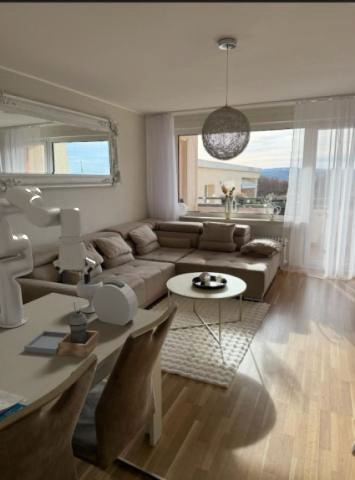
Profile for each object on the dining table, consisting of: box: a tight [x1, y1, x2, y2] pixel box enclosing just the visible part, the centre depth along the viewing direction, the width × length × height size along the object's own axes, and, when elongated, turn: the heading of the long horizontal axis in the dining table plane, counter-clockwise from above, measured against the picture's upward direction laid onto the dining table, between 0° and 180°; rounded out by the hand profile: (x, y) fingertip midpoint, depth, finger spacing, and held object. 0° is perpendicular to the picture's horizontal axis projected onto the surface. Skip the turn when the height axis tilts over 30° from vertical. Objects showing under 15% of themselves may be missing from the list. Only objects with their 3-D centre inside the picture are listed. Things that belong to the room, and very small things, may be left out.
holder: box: [58, 329, 101, 358], centre depth 136 cm, size 12×12×5 cm
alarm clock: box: [93, 279, 139, 327], centre depth 161 cm, size 21×8×20 cm, turn 65°
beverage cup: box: [68, 301, 88, 344], centre depth 135 cm, size 7×7×20 cm
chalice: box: [75, 278, 104, 314], centre depth 175 cm, size 14×14×15 cm
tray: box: [23, 330, 70, 355], centre depth 140 cm, size 14×14×2 cm
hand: (75, 282), depth 131 cm, fingers open, 9 cm apart
